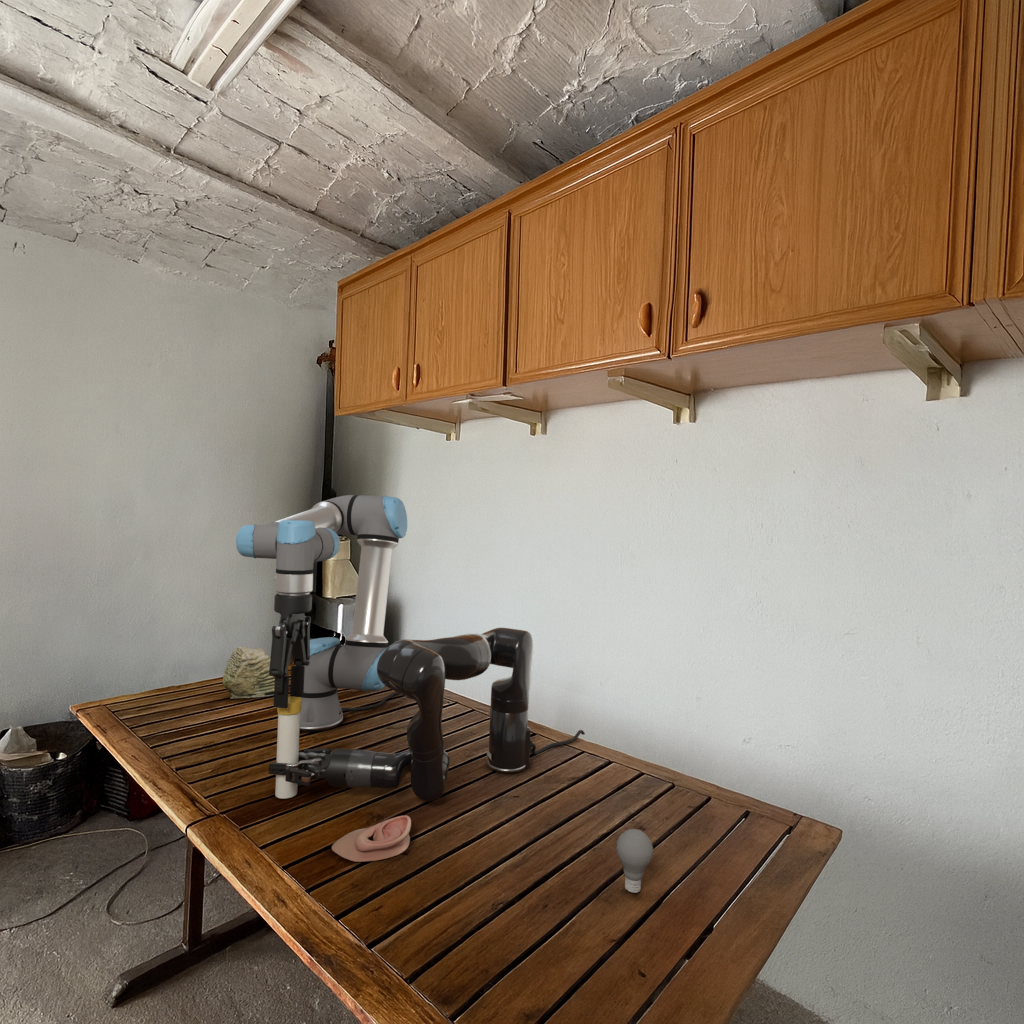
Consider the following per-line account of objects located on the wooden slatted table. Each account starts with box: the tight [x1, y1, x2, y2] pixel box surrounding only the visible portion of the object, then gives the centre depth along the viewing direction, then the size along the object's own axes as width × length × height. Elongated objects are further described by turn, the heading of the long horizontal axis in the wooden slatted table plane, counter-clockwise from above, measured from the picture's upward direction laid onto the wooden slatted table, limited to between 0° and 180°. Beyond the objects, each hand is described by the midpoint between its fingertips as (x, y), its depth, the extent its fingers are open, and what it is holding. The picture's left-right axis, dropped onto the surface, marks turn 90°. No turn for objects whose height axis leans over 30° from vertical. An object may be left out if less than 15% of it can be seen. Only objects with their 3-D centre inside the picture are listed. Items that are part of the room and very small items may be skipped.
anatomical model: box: [331, 814, 412, 863], centre depth 116 cm, size 13×4×12 cm
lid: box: [276, 695, 302, 715], centre depth 134 cm, size 5×5×2 cm
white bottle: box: [274, 712, 300, 800], centre depth 134 cm, size 4×4×20 cm
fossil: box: [222, 646, 275, 699], centre depth 198 cm, size 9×18×15 cm, turn 132°
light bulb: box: [615, 828, 654, 894], centre depth 106 cm, size 6×6×10 cm
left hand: (288, 701), depth 134 cm, fingers open, 7 cm apart
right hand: (274, 763), depth 134 cm, fingers closed on white bottle, 4 cm apart
